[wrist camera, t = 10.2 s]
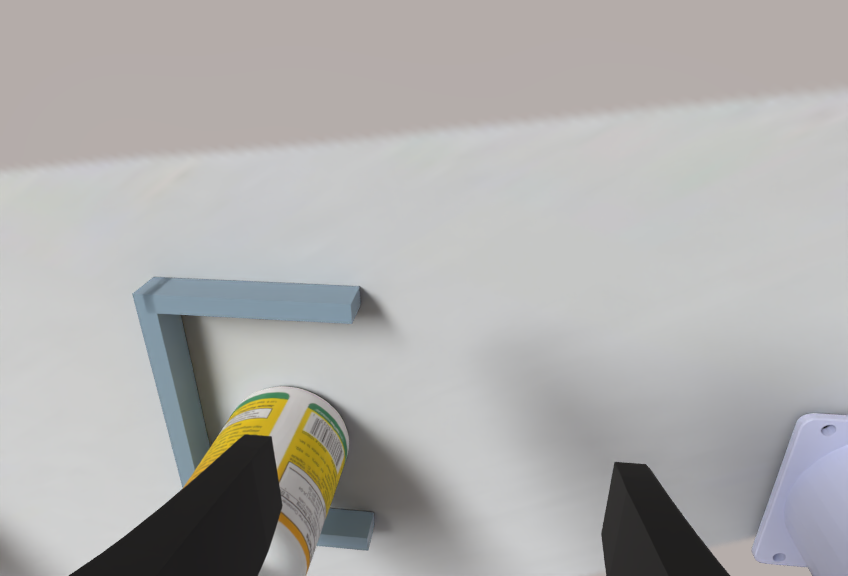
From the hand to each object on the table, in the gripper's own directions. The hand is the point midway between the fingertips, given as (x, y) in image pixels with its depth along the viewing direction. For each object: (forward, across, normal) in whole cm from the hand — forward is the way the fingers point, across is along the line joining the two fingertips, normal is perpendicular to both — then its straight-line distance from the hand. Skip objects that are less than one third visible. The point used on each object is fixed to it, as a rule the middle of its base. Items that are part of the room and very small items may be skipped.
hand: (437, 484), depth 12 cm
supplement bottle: (+11, +8, +8) cm, 15 cm away
